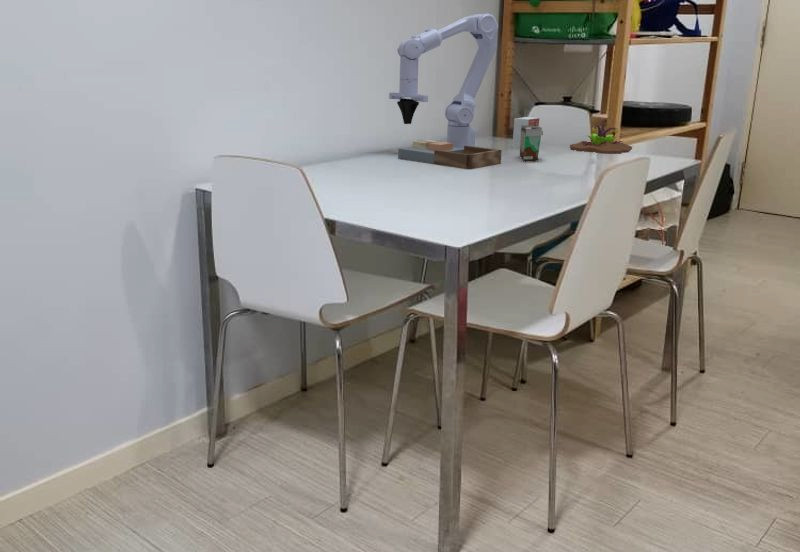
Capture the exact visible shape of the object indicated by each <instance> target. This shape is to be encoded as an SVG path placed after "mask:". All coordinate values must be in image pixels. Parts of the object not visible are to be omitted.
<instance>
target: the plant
mask: <svg viewBox="0 0 800 552" xmlns="http://www.w3.org/2000/svg"><path fill="white" fill-rule="evenodd" d="M607 124H609V120H608V119H607V118H604V119H603V121H602V123H601V127H600V125H595V126H594V127H592V129H591V131H592V132H593V133H590V135H589V134H586V135H587V137H588V138H589V139H590V141H591V142H587V141H588V140H582V141H579V142H577V143H572V144H570V145H569V148H570V150H571V151H574V150H576V151H575V152H582V151H584V152H585V153H593V152H595V153H597V154H603V155H615V154H616V155H621V154H624V153H630V152H631V150H633V146H631V145H630V144H626V143H624V142H623V141H622V140H619V141H618V140H615V139H617V138H618V136H614V134H618V132H619V130H618V128H616V127H608V128H607V129H605V125H607ZM611 130H613V133H614V134H607V133H608V132H609V131H611ZM596 131H598V132H597V133H594V132H596ZM614 140H615V141H614ZM584 152H583V153H584ZM595 153H594V154H595Z"/></svg>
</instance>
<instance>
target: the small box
mask: <svg viewBox="0 0 800 552" xmlns="http://www.w3.org/2000/svg"><path fill="white" fill-rule="evenodd" d="M521 125H528V126H538V127H540V118H539V117H531V116H524V117H518V118H516V117H515V118H514V121H513V133H512V149H518V148H520V140H521Z"/></svg>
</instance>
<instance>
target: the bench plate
mask: <svg viewBox="0 0 800 552" xmlns="http://www.w3.org/2000/svg"><path fill="white" fill-rule="evenodd" d="M397 150H398V152H397V156H398V158H397V159H399V160H404V161H405V160H406V161H412V162H420V163H427V164H432V165H434V151H433V150H428V149H418V148H413V146H408V147H401V148H400V147H399V148H398V149H397ZM448 151H449V152H456V153H463V154H464V149H463V148H456V147H453V150H448Z"/></svg>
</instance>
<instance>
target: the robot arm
mask: <svg viewBox="0 0 800 552" xmlns="http://www.w3.org/2000/svg"><path fill="white" fill-rule="evenodd" d="M498 29H499V24H498V22H497V19H496V17H495V16H494V15H493V14H491V13H489V12H488V13H474V14H471V15H468V16H465V17H461V18H460V19H458V20H455V21H454V22H452V23H450V24H449V25H446V26H443V27H442V28H440V29H438V30H437V29H435V28H430V27H429V28H425V29H424V32H422V33H419V34H418V35H415V34H414V35H411V39H404V40H402V41H401V42H400V43H399V46H398V48H397V54H398V55H399V57H400V58H399V59H400V60H399V62H400V63H399V86H398V87H399V90H398V91H399V92H389V93H388V99H389V100H396V101H397V100H398V101H397V102H396V103H397V106H398V108H399V110H400V113H401V116H402V119H403V120H402V122H403V125H411V124H412V121H413V118H414V115H415V112H416V111H417V108H418V106H419V104H420V102H422V103H428V101H429V95H428V94H427V95H425V94H419V93H418V85H419V58H420V56H422V55H423V54H426V53H428V52H429V51H432V50H434V49H436V48H438V47H440V46H441V43H442V42H443V41H444V40H446V39H448V38H450V37H453V36H456V35H458V34H461V33H463V32H465V33H467V32H469V33H470V35H471V36H472V37H473V38H474V39H475V42H476V44H477V46H478V48H477V51H476V53H475V56H474V57H473V60H472V61H471V65H470V67H469V69H468V71H467V73H466V76H465V79H464V81H463V83H462V85H461V87H460V90H459V92H458V93H457V94H456V96H454V97H453V98H452V101H451V102H450V104H448V105H447V106H446V108H445V113H444V116H445V118H446V120H447V130H446V142H447V143H453V147H456V148H463V149H464V146H473V147H476V129H475V128H474V127H473V126H472V125H471V123H472V121H473V119H474V112H475V107H476V101H475V98H476V96H477V93H478V92H479V89H480V87H481V85H482V83H483V80H484V78H485V77H486V76H485V75H486V73H487V71H488V69H489V66H490V64H491V62H492V60H493V58H494V55H495V53H496V51H497V48H498V32H497V31H498Z"/></svg>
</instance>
